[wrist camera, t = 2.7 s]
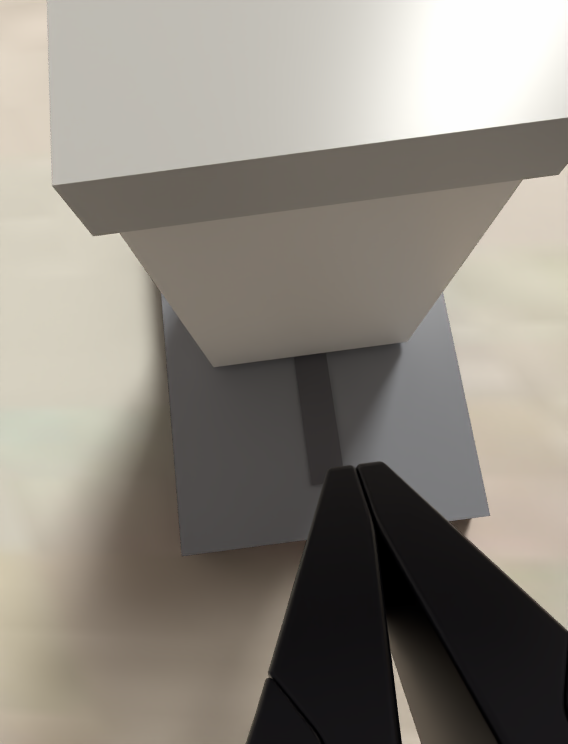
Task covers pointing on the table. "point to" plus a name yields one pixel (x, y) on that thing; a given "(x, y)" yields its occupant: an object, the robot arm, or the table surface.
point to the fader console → (314, 432)
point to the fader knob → (302, 152)
